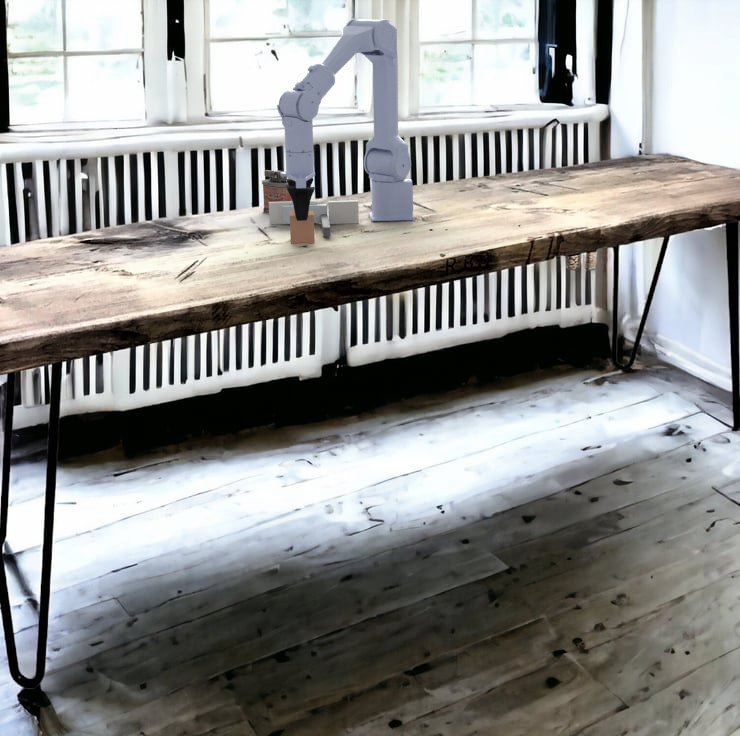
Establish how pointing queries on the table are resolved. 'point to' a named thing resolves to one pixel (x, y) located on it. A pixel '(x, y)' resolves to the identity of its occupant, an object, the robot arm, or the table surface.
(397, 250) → the table surface
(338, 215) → the white thin slab
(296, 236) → the block
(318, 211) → the sliding door
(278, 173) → the lighter
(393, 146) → the robot arm
